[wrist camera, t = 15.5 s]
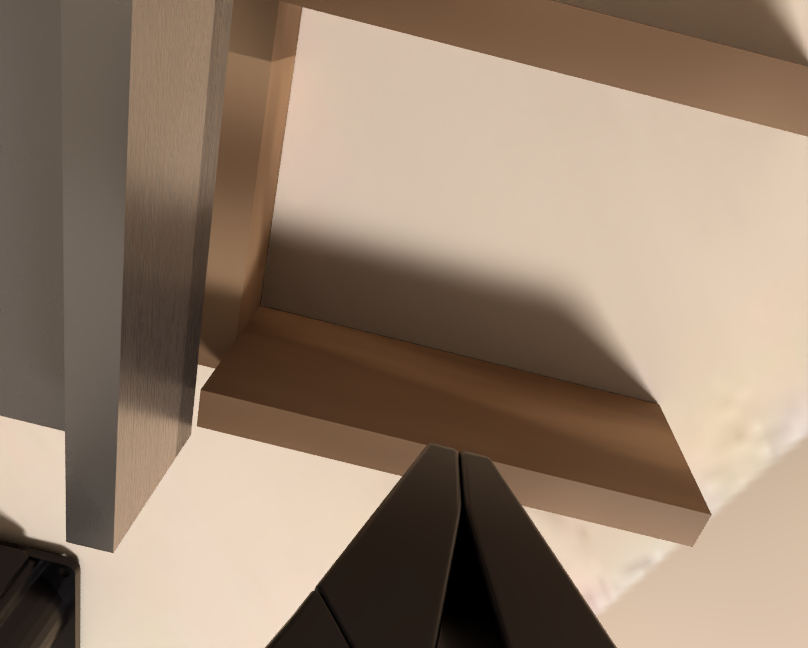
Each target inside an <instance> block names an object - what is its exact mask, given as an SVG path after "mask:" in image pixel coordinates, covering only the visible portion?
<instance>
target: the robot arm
mask: <svg viewBox="0 0 808 648" xmlns="http://www.w3.org/2000/svg"><path fill="white" fill-rule="evenodd" d="M0 648H80V565H79V563H78V562H77V561H76V560H74V559H72V558H70V557H66V556H62V555H58V554H53V553H49V552H45V551H41V550H37V549H32V548H28V547H24V546H20V545H16V544H11V543H7V542H3V541H0ZM265 648H617V647H616V646H615V644H614V643H613V641H612V640H611V638H610V637H609V635H608V634H607V632H606V631H605V630H604V628H603V626H602V625H601V623H600V622H599V620H598V619H597V617H596V616H595V614H594V613H593V611H592V610H591V608H590V607H589V605H588V604H587V602H586V601H585V599H584V598H583V596H582V595H581V593H580V592H579V590H578V589H577V587H576V586H575V584H574V583H573V581H572V580H571V578H570V577H569V575H568V574H567V572H566V571H565V569H564V568H563V566H562V565H561V563H560V562H559V560H558V559H557V557H556V556H555V554H554V553H553V551H552V550H551V548H550V547H549V545H548V544H547V542H546V541H545V540H544V538H543V537H542V535H541V534H540V532H539V531H538V529H537V528H536V526H535V525H534V523H533V522H532V520H531V519H530V517H529V516H528V514H527V513H526V511H525V510H524V508H523V507H522V505H521V504H520V502H519V501H518V499H517V498H516V496H515V495H514V493H513V492H512V490H511V489H510V487H509V486H508V484H507V483H506V481H505V480H504V478H503V477H502V475H501V474H500V472H499V471H498V469H497V468H496V466H495V465H494V463H493V462H492V460H491V459H490V458H489V457H487V456H483V455H479V454H475V453H471V452H467V451H461V452H460V453H459V454H458V451H457V450H456V449H454V448H450V447H446V446H442V445H438V444H434V443H430V444H428V445H427V446H426V447H425V448H424V449H423V451H422V452H421V453H420V455H419V456H418V457H417V458H416V460H415V461H414V462H413V463H412V465H411V466H410V467H409V469H408V470H407V471H406V472H405V474H404V475H403V476H402V478H401V479H400V480H399V481H398V483H397V484H396V485H395V486H394V488H393V489H392V490H391V492H390V493H389V494H388V495H387V497H386V498H385V499H384V500H383V502H382V503H381V504H380V506H379V507H378V508H377V509H376V511H375V512H374V513H373V514H372V516H371V517H370V518H369V520H368V521H367V522H366V523H365V525H364V526H363V527H362V528H361V530H360V531H359V532H358V534H357V535H356V536H355V537H354V539H353V540H352V541H351V542H350V544H349V545H348V546H347V548H346V549H345V550H344V551H343V553H342V554H341V555H340V557H339V558H338V559H337V560H336V562H335V563H334V564H333V565H332V567H331V568H330V569H329V571H328V572H327V573H326V574H325V576H324V577H323V578H322V579H321V581H320V582H319V583H318V585H317V586H316V588H315V591H312V592H311V593H310V594H309V595H308V597H307V598H306V599H305V600H304V602H303V603H302V604H301V606H300V607H299V608H298V609H297V611H296V612H295V613H294V614H293V616H292V617H291V618H290V619H289V620H288V621H287V623H286V624H285V625H284V626H283V627H282V628H281V630H280V631H279V632H278V633H277V634H276V635H275V637H274V638H273V639H272V640H271V641H270V643H269V644H268V645H267V646H266V647H265Z"/></svg>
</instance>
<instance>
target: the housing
mask: <svg viewBox="0 0 808 648" xmlns="http://www.w3.org/2000/svg"><path fill="white" fill-rule="evenodd" d="M302 7H305V8H309V9H313V10H317V11H320V12H324V13H328V14H332V15H336V16H340V17H344V18H348V19H352V20H356V21H359V22H363V23H367V24H371V25H375V26H379V27H383V28H387V29H391V30H395V31H398V32H402V33H406V34H410V35H414V36H418V37H422V38H426V39H430V40H434V41H438V42H441V43H445V44H449V45H453V46H457V47H461V48H465V49H469V50H473V51H477V52H480V53H484V54H488V55H492V56H496V57H500V58H504V59H508V60H512V61H516V62H519V63H523V64H527V65H531V66H535V67H539V68H543V69H547V70H551V71H555V72H558V73H562V74H566V75H570V76H574V77H578V78H582V79H586V80H590V81H594V82H597V83H601V84H605V85H609V86H613V87H617V88H621V89H625V90H629V91H633V92H636V93H640V94H644V95H648V96H652V97H656V98H660V99H664V100H668V101H672V102H676V103H679V104H683V105H687V106H691V107H695V108H699V109H703V110H707V111H711V112H715V113H718V114H722V115H726V116H730V117H734V118H738V119H742V120H746V121H750V122H754V123H757V124H761V125H765V126H769V127H773V128H777V129H781V130H785V131H789V132H793V133H796V134H800V135H804V136H808V66H804V65H800V64H796V63H792V62H788V61H784V60H781V59H777V58H773V57H769V56H765V55H761V54H757V53H753V52H750V51H746V50H742V49H738V48H734V47H730V46H726V45H722V44H719V43H715V42H711V41H707V40H703V39H699V38H695V37H691V36H688V35H684V34H680V33H676V32H672V31H668V30H664V29H661V28H657V27H653V26H649V25H645V24H641V23H637V22H633V21H630V20H626V19H622V18H618V17H614V16H610V15H606V14H602V13H599V12H595V11H591V10H587V9H583V8H579V7H575V6H571V5H568V4H564V3H560V2H556V1H552V0H233V9H232V19H231V29H230V39H229V49H228V60H227V70H226V80H225V90H224V100H223V110H222V121H221V131H220V141H219V151H218V161H217V172H216V182H215V192H214V202H213V212H212V223H211V233H210V243H209V253H208V263H207V274H206V284H205V294H204V304H203V314H202V324H201V335H200V345H199V355H198V364H199V365H203V366H207V367H211V368H215V370H214V372H213V373H212V375H211V376H210V377H209V379H208V380H207V382H206V383H205V384H204V386H203V387H202V389H201V392H200V402H199V411H198V421H197V426H198V427H202V428H206V429H211V430H215V431H219V432H223V433H227V434H231V435H235V436H239V437H243V438H248V439H252V440H256V441H260V442H264V443H268V444H272V445H276V446H280V447H285V448H289V449H293V450H297V451H301V452H305V453H309V454H313V455H317V456H321V457H326V458H330V459H334V460H338V461H342V462H346V463H350V464H354V465H358V466H363V467H367V468H371V469H375V470H379V471H383V472H387V473H391V474H395V475H400V476H403V475H404V474H405V472H406V471H407V470H408V469H409V467H410V466H411V465H412V463H413V462H414V461H415V460H416V458H417V457H418V456H419V455H420V453H421V452H422V451H423V449H424V448H425V447H426V446H427V445H428V444H430V443H434V444H438V445H442V446H446V447H450V448H454V449H456V450H457V451H458V454H459V453H460V452H461V451H467V452H471V453H475V454H479V455H483V456H487V457H489V458H490V459H491V460H492V462H493V463H494V465H495V466H496V468H497V469H498V471H499V472H500V474H501V475H502V477H503V478H504V480H505V481H506V483H507V484H508V486H509V487H510V489H511V490H512V492H513V493H514V495H515V496H516V498H517V499H518V501H519V502H520V504H521V505H523V506H527V507H531V508H535V509H539V510H543V511H547V512H552V513H556V514H560V515H564V516H568V517H572V518H576V519H580V520H584V521H588V522H593V523H597V524H601V525H605V526H609V527H613V528H617V529H621V530H625V531H630V532H634V533H638V534H642V535H646V536H650V537H654V538H658V539H662V540H667V541H671V542H675V543H679V544H683V545H687V546H691V547H693V545H694V544H695V542H696V540H697V539H698V537H699V535H700V533H701V532H702V530H703V528H704V527H705V525H706V523H707V522H708V520H709V518H710V516H711V513H710V511H709V509H708V506H707V504H706V502H705V500H704V498H703V496H702V494H701V492H700V490H699V487H698V485H697V483H696V481H695V479H694V477H693V475H692V473H691V471H690V469H689V466H688V464H687V462H686V460H685V458H684V456H683V454H682V452H681V450H680V447H679V445H678V443H677V441H676V439H675V437H674V435H673V433H672V431H671V429H670V426H669V424H668V422H667V420H666V418H665V416H664V414H663V412H662V410H661V408H660V405H659V404H655V403H651V402H647V401H643V400H639V399H635V398H631V397H627V396H623V395H619V394H615V393H611V392H607V391H602V390H598V389H594V388H590V387H586V386H582V385H578V384H574V383H570V382H566V381H562V380H558V379H554V378H550V377H546V376H542V375H538V374H534V373H530V372H526V371H522V370H518V369H514V368H509V367H505V366H501V365H497V364H493V363H489V362H485V361H481V360H477V359H473V358H469V357H465V356H461V355H457V354H453V353H449V352H445V351H441V350H437V349H433V348H429V347H425V346H421V345H416V344H412V343H408V342H404V341H400V340H396V339H392V338H388V337H384V336H380V335H376V334H372V333H368V332H364V331H360V330H356V329H352V328H348V327H344V326H340V325H336V324H332V323H328V322H324V321H319V320H315V319H311V318H307V317H303V316H299V315H295V314H291V313H287V312H283V311H279V310H275V309H271V308H267V307H263V306H260V302H261V295H262V288H263V281H264V274H265V267H266V260H267V253H268V246H269V238H270V231H271V224H272V217H273V210H274V203H275V196H276V189H277V182H278V175H279V168H280V161H281V154H282V147H283V140H284V133H285V126H286V119H287V112H288V105H289V98H290V91H291V84H292V77H293V70H294V63H295V55H296V48H297V41H298V34H299V27H300V20H301V13H302Z"/></svg>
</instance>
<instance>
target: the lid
mask: <svg viewBox="0 0 808 648" xmlns="http://www.w3.org/2000/svg"><path fill="white" fill-rule="evenodd" d="M232 9H233V0H0V416H4V417H9V418H13V419H17V420H21V421H25V422H29V423H33V424H37V425H42V426H46V427H50V428H54V429H58V430H62V431H65V464H66V542H69V543H73V544H77V545H82V546H86V547H90V548H94V549H98V550H103V551H107V552H111V553H114V551H115V550H116V548H117V547H118V545H119V544H120V542H121V540H122V539H123V537H124V536H125V534H126V533H127V531H128V530H129V528H130V527H131V525H132V524H133V522H134V521H135V519H136V518H137V516H138V514H139V513H140V511H141V510H142V508H143V507H144V505H145V504H146V502H147V501H148V499H149V498H150V496H151V495H152V493H153V492H154V490H155V488H156V487H157V485H158V484H159V482H160V481H161V479H162V478H163V476H164V475H165V473H166V472H167V470H168V469H169V467H170V466H171V464H172V462H173V461H174V459H175V458H176V456H177V455H178V453H179V452H180V450H181V449H182V447H183V446H184V444H185V443H186V441H187V440H188V438H189V437H190V435H191V426H192V416H193V406H194V396H195V386H196V375H197V365H198V355H199V345H200V335H201V324H202V314H203V304H204V294H205V284H206V274H207V263H208V253H209V243H210V233H211V223H212V212H213V202H214V192H215V182H216V172H217V161H218V151H219V141H220V131H221V121H222V110H223V100H224V90H225V80H226V70H227V60H228V49H229V39H230V29H231V19H232Z"/></svg>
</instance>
